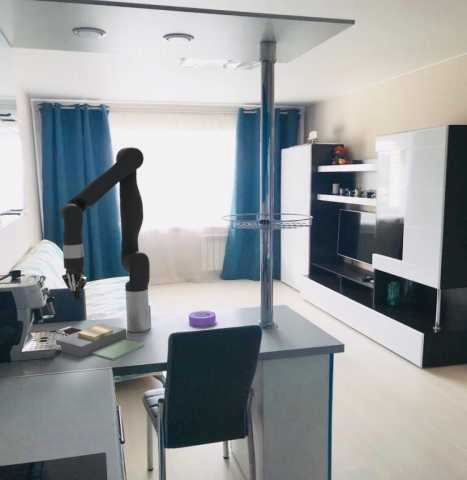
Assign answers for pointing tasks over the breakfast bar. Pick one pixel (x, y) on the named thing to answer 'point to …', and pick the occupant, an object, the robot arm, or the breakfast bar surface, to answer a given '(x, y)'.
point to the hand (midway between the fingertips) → (76, 299)
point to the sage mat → (118, 349)
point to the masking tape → (202, 318)
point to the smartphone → (70, 330)
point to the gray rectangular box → (89, 341)
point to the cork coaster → (95, 333)
